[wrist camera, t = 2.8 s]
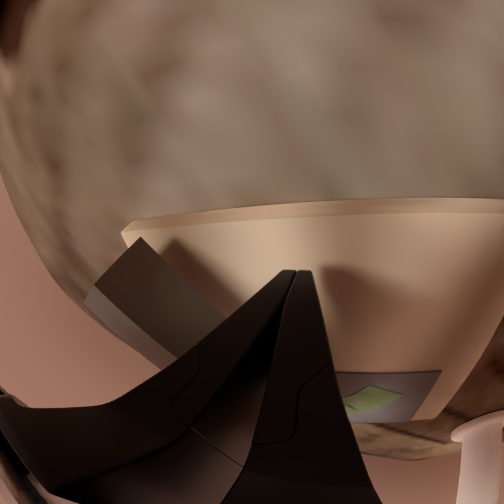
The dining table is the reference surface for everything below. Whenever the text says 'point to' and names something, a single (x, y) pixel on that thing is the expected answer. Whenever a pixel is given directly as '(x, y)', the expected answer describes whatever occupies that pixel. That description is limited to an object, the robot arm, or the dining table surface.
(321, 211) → the thin beige panel
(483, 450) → the candle
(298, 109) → the dining table surface
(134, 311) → the grey knobbed piece
